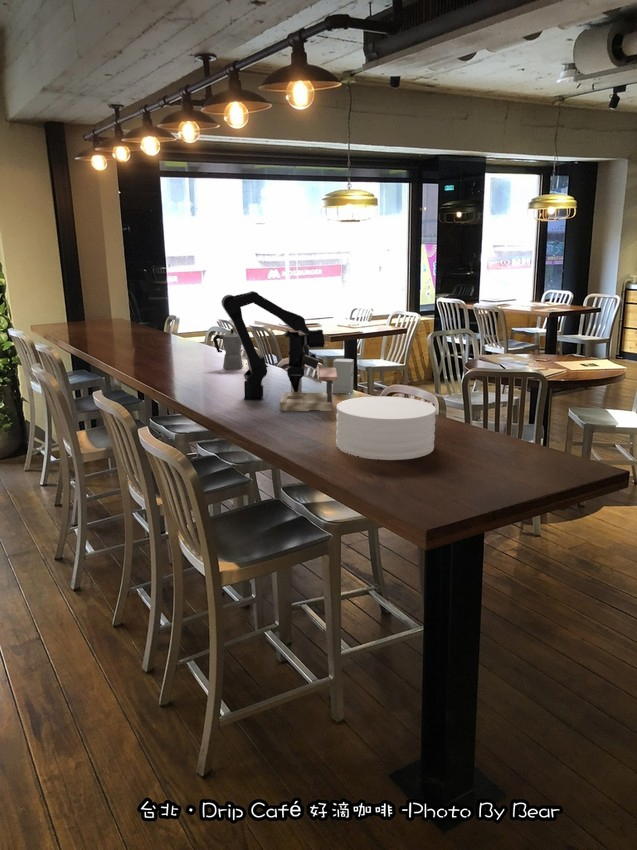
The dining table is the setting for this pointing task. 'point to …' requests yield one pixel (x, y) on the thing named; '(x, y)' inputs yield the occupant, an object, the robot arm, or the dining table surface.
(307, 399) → the socket block
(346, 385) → the supplement box
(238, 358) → the coffeepot
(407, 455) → the plate stack
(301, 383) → the peg
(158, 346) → the dining table surface
